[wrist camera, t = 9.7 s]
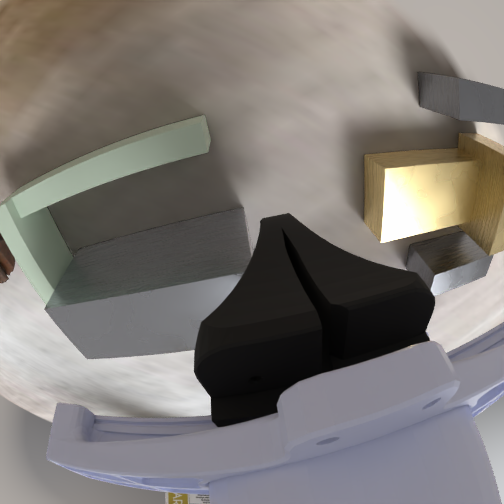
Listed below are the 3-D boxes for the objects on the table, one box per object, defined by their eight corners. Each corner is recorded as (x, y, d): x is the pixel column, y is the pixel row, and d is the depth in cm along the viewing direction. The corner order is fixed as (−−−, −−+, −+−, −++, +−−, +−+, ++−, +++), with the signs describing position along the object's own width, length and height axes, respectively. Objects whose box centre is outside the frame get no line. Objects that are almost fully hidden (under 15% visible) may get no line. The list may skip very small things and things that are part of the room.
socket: (462, 250, 17) (485, 275, 15) (405, 267, 18) (427, 298, 15) (483, 83, 10) (520, 94, 7) (417, 71, 10) (458, 78, 7)
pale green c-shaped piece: (248, 289, 17) (253, 326, 15) (92, 315, 17) (81, 348, 15) (204, 114, 11) (199, 125, 9) (19, 187, 11) (-10, 212, 9)
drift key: (466, 213, 15) (505, 249, 12) (363, 236, 16) (398, 286, 12) (477, 133, 12) (528, 159, 8) (363, 136, 12) (415, 165, 8)
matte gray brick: (257, 268, 16) (269, 337, 12) (108, 297, 17) (87, 359, 12) (243, 207, 14) (253, 270, 10) (79, 248, 14) (44, 309, 10)
